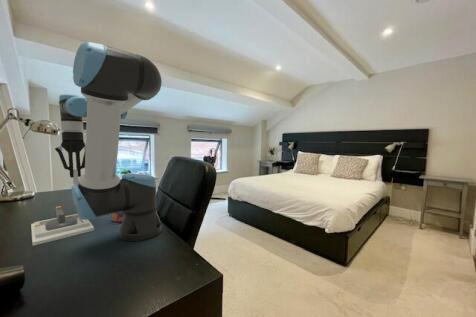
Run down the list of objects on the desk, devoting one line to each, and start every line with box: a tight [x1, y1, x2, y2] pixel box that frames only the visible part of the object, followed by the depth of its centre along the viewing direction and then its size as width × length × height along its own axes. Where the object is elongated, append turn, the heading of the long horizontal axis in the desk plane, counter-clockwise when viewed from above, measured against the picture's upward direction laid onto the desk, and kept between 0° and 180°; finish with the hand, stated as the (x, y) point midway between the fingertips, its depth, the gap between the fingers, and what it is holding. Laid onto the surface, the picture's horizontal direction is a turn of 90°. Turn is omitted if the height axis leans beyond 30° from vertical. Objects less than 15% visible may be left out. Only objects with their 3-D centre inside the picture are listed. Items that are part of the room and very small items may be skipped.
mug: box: [110, 211, 124, 223], centre depth 99 cm, size 12×9×11 cm
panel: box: [30, 213, 95, 247], centre depth 88 cm, size 22×18×3 cm
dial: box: [45, 205, 77, 230], centre depth 90 cm, size 15×10×6 cm, turn 45°
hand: (76, 184), depth 97 cm, fingers closed
